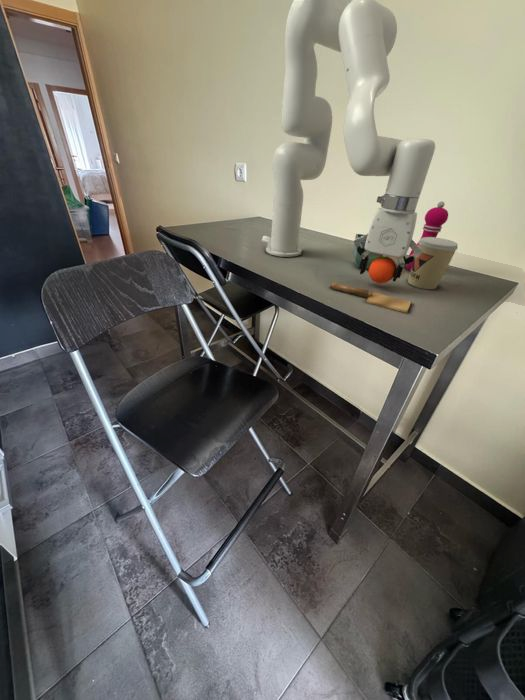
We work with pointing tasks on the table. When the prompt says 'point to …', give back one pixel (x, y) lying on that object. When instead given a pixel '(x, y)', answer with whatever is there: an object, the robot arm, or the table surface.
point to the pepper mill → (432, 224)
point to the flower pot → (370, 255)
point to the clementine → (382, 269)
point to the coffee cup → (431, 262)
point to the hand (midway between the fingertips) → (378, 276)
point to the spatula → (374, 297)
